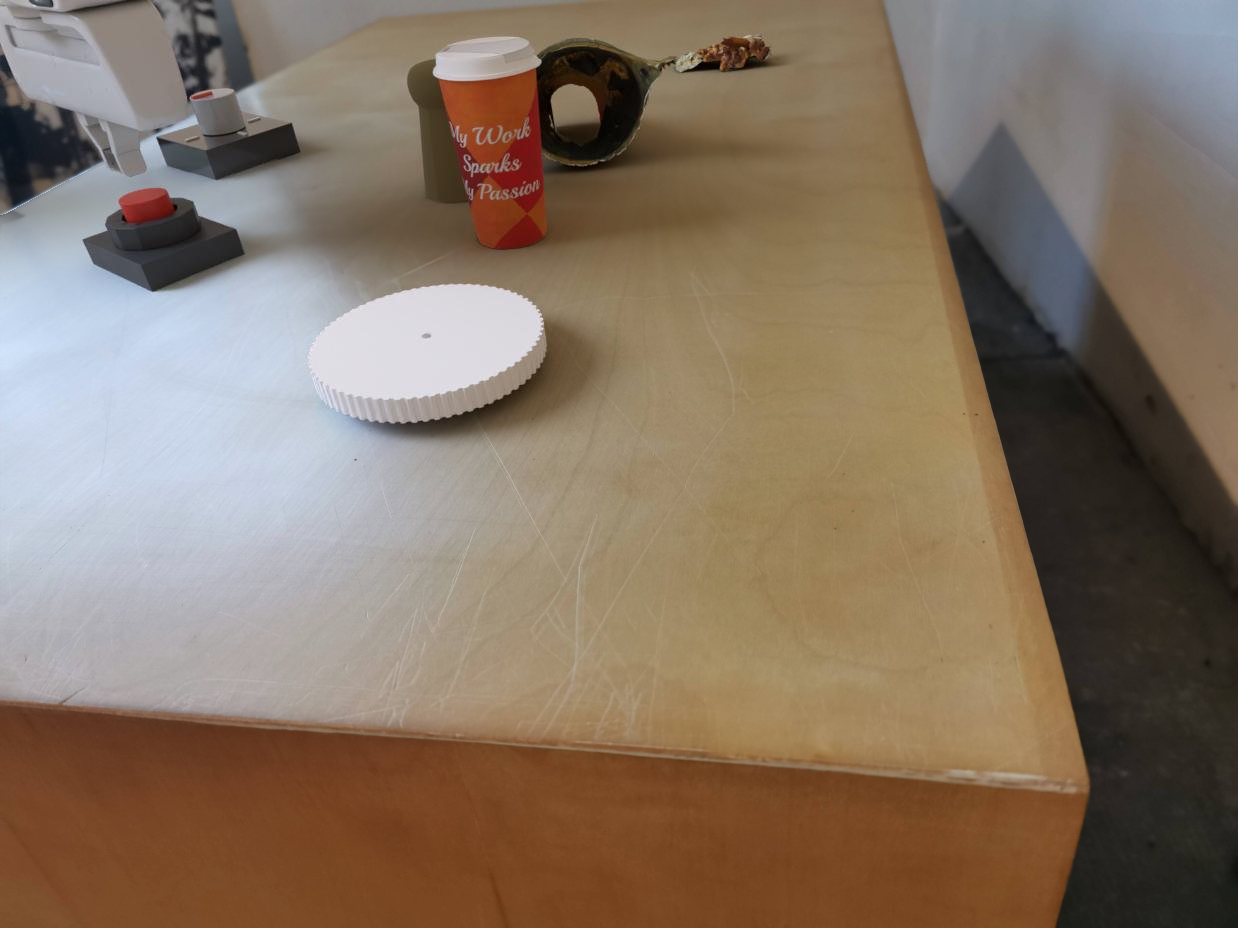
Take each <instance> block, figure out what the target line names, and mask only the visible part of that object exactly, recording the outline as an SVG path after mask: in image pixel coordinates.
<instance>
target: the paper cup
mask: <svg viewBox="0 0 1238 928" xmlns="http://www.w3.org/2000/svg"><path fill="white" fill-rule="evenodd" d="M535 53H536V50H535V48H533V47H532V46H531V43H530V41H529V40H528V39H526V38H522V37H519V36H518V37H517V36H488V37H479V38H474V39H473V38H471V39H465V40H461V41H457V42H453V43H450V44H447V45H445V46H444V47H443V48H441V49H440V50H439V51H438V52H436V53H435V59H436V66H435V67H434V69H433V75H434V76H435V77H437V78H438V79H439V83H440V87H441V91H442V95H443V99H444V104H445V108H446V113H447V117H448V121H449V125H450V129H451V133H452V137H453V141H454V145H455V149H456V153H457V158H458V162H459V166H460V170H461V174H462V178H463V182H464V186H465V191H466V195H467V199H468V200H467V202H468V207H469V210H470V214H471V218H472V222H473V226H474V229H475V233H476V236H477V239H478V241H479V243H480V244H481V245H482V246H484V247H486V248H490V249H495V250H511V249H518V248H523V247H527V246H530V245H533V244H535V243H537V242H539V241H541V240H542V239H544V237H545V236H546V234H547V212H546V211H547V209H546V196H545V180H544V179H545V177H544V165H543V164H544V163H543V154H542V148H541V134H540V120H539V106H538V92H537V78H536V67H538V66H539V65H540V64H541V60H540V59H538V57H537V54H535Z"/></svg>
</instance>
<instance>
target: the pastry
mask: <svg viewBox="0 0 1238 928" xmlns="http://www.w3.org/2000/svg"><path fill="white" fill-rule="evenodd" d="M762 36H763V34H758V33H757V34H748V35H745V36H742V37H741V36H739V35H738V36H730V35H729V36H727V37H722V40H721V41H720V43H713V45H712V44H711V45H708V46H707V47H706V48H698V49H697V50H696V52H694V51H690V52H687V53H682V55H680V57H678V58H676V59H677V61H676V65H675V64H674V66H675V69H676V71H677V72H679V73H682V72H684V71H687V70H692V69H693V68H695V67H697V66H698V65H699V64H700V63H702V62H703V63H706V62H707V63H710V62H715V61H717V62H720V63H719V65H720V66H719V71H720V72H721V71H722V72H723V71H726V70H727V71H729V70H730V68H732V69H737V68H738V69H741V68H744V66H745V64H746V61H747V60H749V59H750V58H752V57H753V56H754V57H756V58H757V59H758V60H759V61H765V60H767V59H768V58H769V57H770V56H772V50H771V48H772V45H771V44H769V45H767V46H766V43H765V41H764V40H763V38H762ZM727 71H726V72H727Z"/></svg>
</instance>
